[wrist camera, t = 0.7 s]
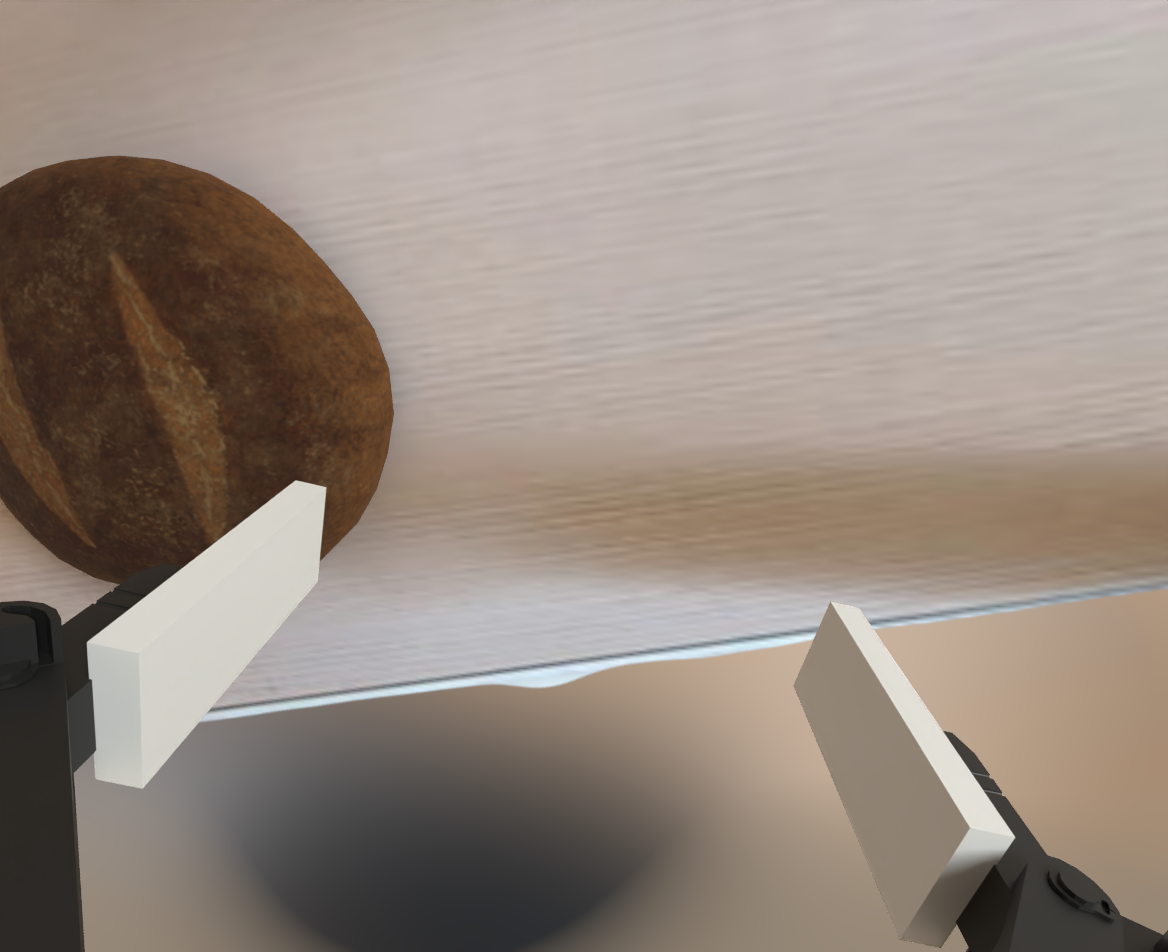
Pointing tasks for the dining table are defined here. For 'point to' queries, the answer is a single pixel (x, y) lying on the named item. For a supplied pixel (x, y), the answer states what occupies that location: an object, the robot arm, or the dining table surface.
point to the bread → (173, 366)
